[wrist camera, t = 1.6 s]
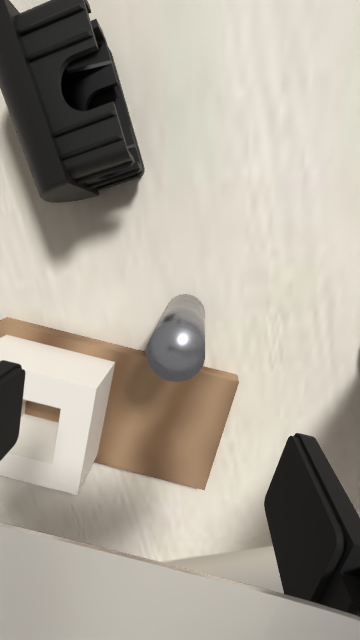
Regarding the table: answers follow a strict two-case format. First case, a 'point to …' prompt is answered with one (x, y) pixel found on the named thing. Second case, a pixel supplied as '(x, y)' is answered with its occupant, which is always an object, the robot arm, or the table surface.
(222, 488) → the table surface
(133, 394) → the board
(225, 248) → the table surface
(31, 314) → the table surface
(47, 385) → the socket
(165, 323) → the peg
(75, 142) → the end cap
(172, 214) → the table surface
